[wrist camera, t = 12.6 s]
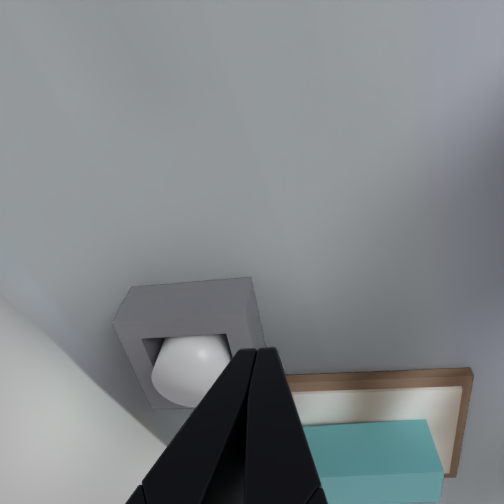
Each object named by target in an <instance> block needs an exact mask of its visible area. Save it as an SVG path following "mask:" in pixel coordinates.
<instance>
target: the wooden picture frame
mask: <svg viewBox="0 0 504 504" xmlns="http://www.w3.org/2000/svg"><path fill="white" fill-rule="evenodd" d="M286 378H287V381H288V384H289V387H290V390H291V393H292V396H293V399H294V402H295V405H296V408H297V411H298V414H299V417H300V420H301V423H302V426H303V427H308V426H324V425H340V424H356V423H372V422H388V421H404V420H420V419H426V421H427V424H428V427H429V429H430V432H431V435H432V438H433V441H434V444H435V446H436V449H437V452H438V455H439V458H440V461H441V463H442V466H443V469H444V477H456V475H457V469H458V464H459V458H460V452H461V446H462V441H463V435H464V429H465V424H466V418H467V412H468V406H469V401H470V395H471V389H472V384H473V378H474V375H473V373H472V370H471V368H452V369H428V370H404V371H380V372H355V373H331V374H307V375H286Z"/></svg>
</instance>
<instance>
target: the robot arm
mask: <svg viewBox="0 0 504 504" xmlns="http://www.w3.org/2000/svg"><path fill="white" fill-rule="evenodd" d="M125 504H328V501H327V498H326V495H325V492H324V490H323V488H322V484H321V481H320V478H319V475H318V472H317V469H316V466H315V463H314V460H313V457H312V454H311V451H310V448H309V445H308V442H307V439H306V436H305V433H304V429H303V426H302V423H301V420H300V417H299V414H298V411H297V408H296V405H295V402H294V399H293V396H292V393H291V390H290V387H289V384H288V381H287V378H286V375H285V372H284V369H283V366H282V363H281V360H280V357H279V354H278V351H277V348H276V347H261V348H259V349H258V350H257V349H256V348H242V349H239V350H238V351H237V352H236V354H235V355H234V356H233V358H232V359H231V360H230V362H229V363H228V364H227V366H226V367H225V369H224V370H223V371H222V373H221V374H220V375H219V377H218V378H217V379H216V381H215V382H214V384H213V385H212V386H211V388H210V389H209V390H208V392H207V393H206V394H205V396H204V397H203V399H202V400H201V401H200V403H199V404H198V405H197V407H196V408H195V409H194V411H193V412H192V414H191V415H190V416H189V418H188V419H187V420H186V422H185V423H184V424H183V426H182V427H181V429H180V430H179V431H178V433H177V434H176V435H175V437H174V438H173V439H172V441H171V442H170V444H169V445H168V446H167V448H166V449H165V450H164V452H163V453H162V454H161V456H160V457H159V459H158V460H157V461H156V463H155V464H154V465H153V467H152V468H151V470H150V471H149V472H148V474H147V475H146V477H145V478H144V479H143V480H142V485H139V486H138V487H137V488H136V490H135V491H134V492H133V494H132V495H131V496H130V498H129V499H128V501H127V502H126V503H125Z"/></svg>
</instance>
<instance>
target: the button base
mask: <svg viewBox="0 0 504 504" xmlns="http://www.w3.org/2000/svg"><path fill="white" fill-rule="evenodd" d="M112 325H113V327H114V329H115V331H116V333H117V336H118V338H119V340H120V342H121V344H122V346H123V348H124V350H125V353H126V355H127V357H128V359H129V361H130V363H131V365H132V367H133V370H134V372H135V374H136V376H137V378H138V380H139V382H140V384H141V387H142V389H143V391H144V393H145V395H146V397H147V399H148V401H149V404H150V406H151V408H152V409H178V408H196V407H187V406H182V405H179V404H176V403H174V402H171V401H169V400H168V399H166V398H165V397H163V396H162V395H161V394H160V393H159V392H158V391H157V390H156V389H155V387H154V385H153V383H152V378H151V376H152V371H153V368H154V366H155V363H156V360H157V358H158V355H159V352H160V350H161V347H162V344H163V342H164V339H165V337H178V336H194V335H211V334H226V335H227V338H228V342H229V346H230V349H231V353H232V356H234V355H235V354H236V352H237V351H238V350H239V349H242V348H256V349H257V350H258V349H259V348H261V347H266V345H265V341H264V336H263V331H262V326H261V322H260V317H259V312H258V308H257V303H256V298H255V293H254V289H253V284H252V279H251V277H246V278H234V279H222V280H210V281H198V282H186V283H174V284H162V285H150V286H138V287H131V289H130V291H129V292H128V294H127V296H126V298H125V300H124V301H123V303H122V305H121V307H120V309H119V311H118V312H117V314H116V316H115V318H114V320H113V322H112Z"/></svg>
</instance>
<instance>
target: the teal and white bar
mask: <svg viewBox="0 0 504 504" xmlns="http://www.w3.org/2000/svg"><path fill="white" fill-rule="evenodd" d="M303 429H304V433H305V436H306V439H307V442H308V445H309V448H310V451H311V454H312V457H313V460H314V463H315V466H316V469H317V472H318V475H319V478H320V481H321V484H322V488H323V490H324V492H325V495H326V498H327V501H328V504H403V503H430V502H440V499H441V492H442V485H443V478H444V469H443V466H442V463H441V461H440V458H439V455H438V452H437V449H436V446H435V444H434V441H433V438H432V435H431V432H430V429H429V427H428V424H427V421H426V419H420V420H404V421H388V422H372V423H356V424H340V425H324V426H308V427H303Z"/></svg>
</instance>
